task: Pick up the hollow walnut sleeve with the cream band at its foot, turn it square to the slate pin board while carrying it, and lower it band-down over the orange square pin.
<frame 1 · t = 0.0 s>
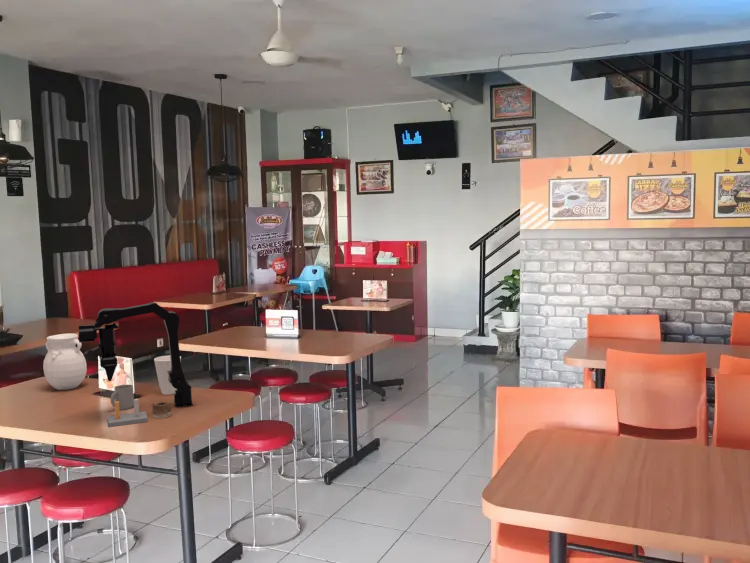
hand: (109, 378, 263), 15 cm above the table, fingers open, 9 cm apart
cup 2: (169, 393, 296), on the table
cup: (122, 408, 272), on the table
white handled vase: (66, 388, 310), on the table
sleeve: (162, 416, 260), on the table
pin board: (127, 420, 254), on the table
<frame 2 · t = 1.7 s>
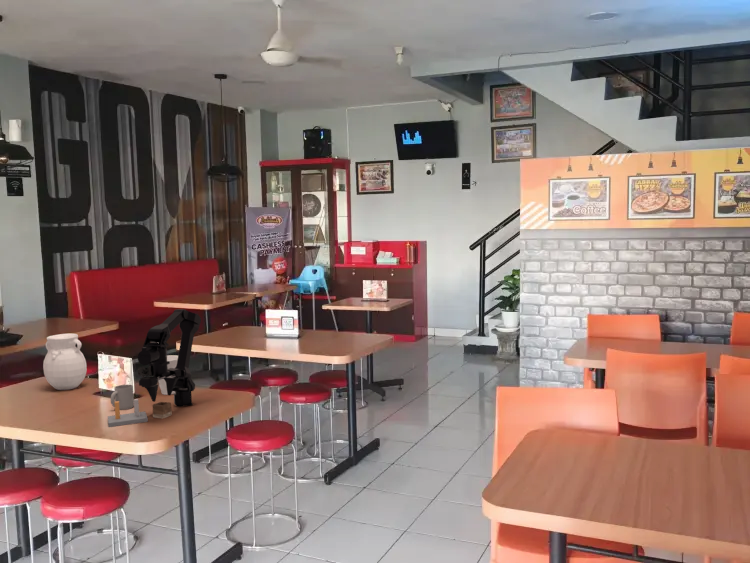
hand: (161, 398, 259), 7 cm above the table, fingers open, 9 cm apart
nothing on the table moved.
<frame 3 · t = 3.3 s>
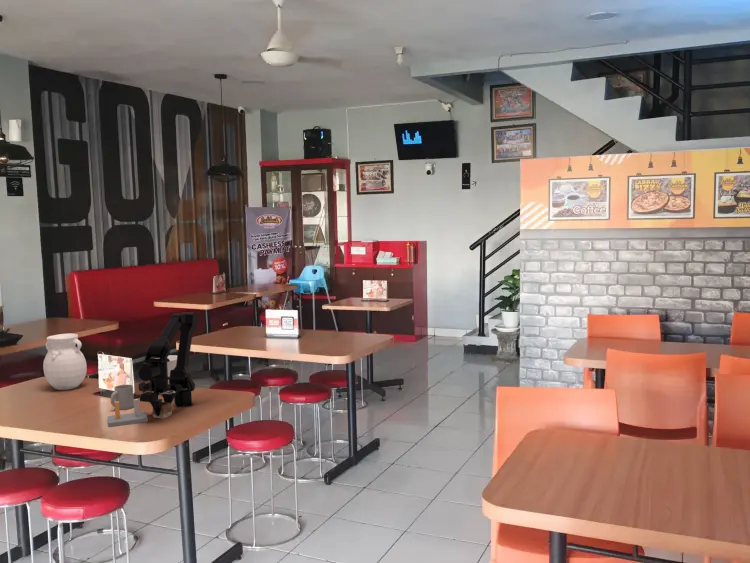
hand: (162, 413, 260), 1 cm above the table, fingers closed on sleeve, 5 cm apart
sleeve: (162, 416, 260), on the table, touching gripper
everything else where it was.
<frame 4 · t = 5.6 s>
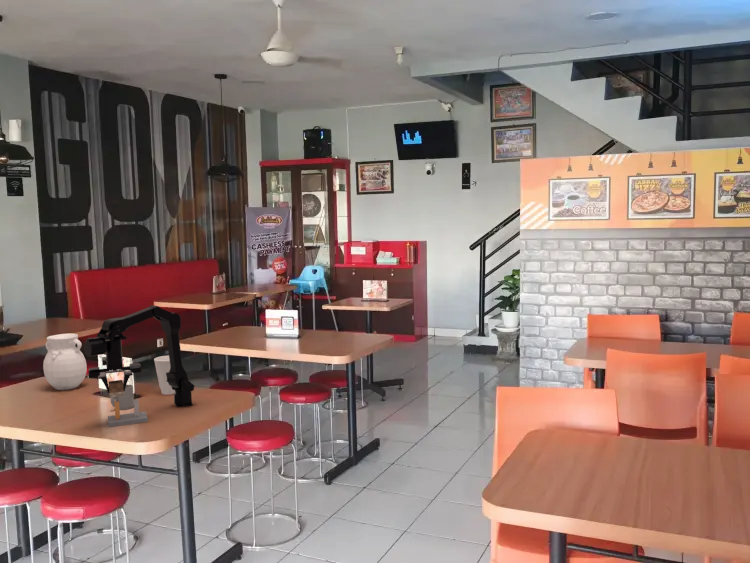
hand: (116, 392, 252), 12 cm above the table, fingers closed on sleeve, 5 cm apart
sleeve: (116, 394, 252), point 11 cm above the table, touching gripper
everything else where it was.
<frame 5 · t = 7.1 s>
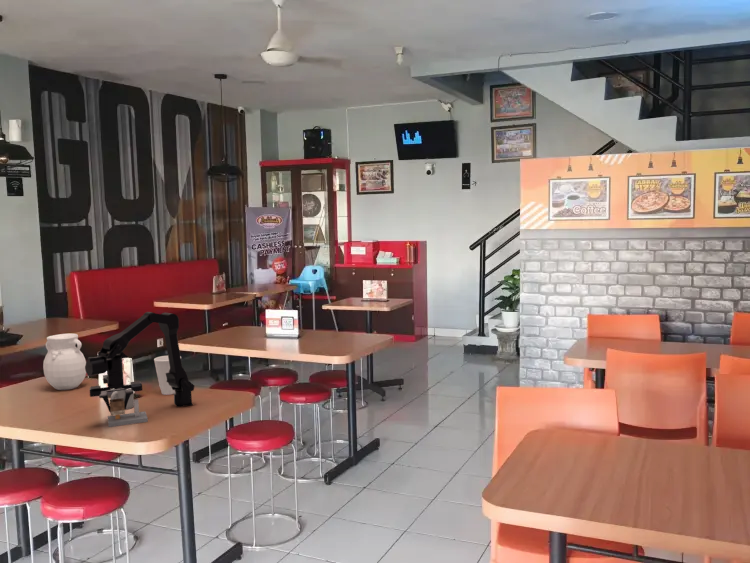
hand: (117, 410, 253), 5 cm above the table, fingers closed on sleeve, 5 cm apart
sleeve: (117, 413, 253), point 4 cm above the table, touching gripper
everything else where it was.
when the fingers open (4 cm above the table, at t = 8.1 s): sleeve drops 1 cm, resting on pin board.
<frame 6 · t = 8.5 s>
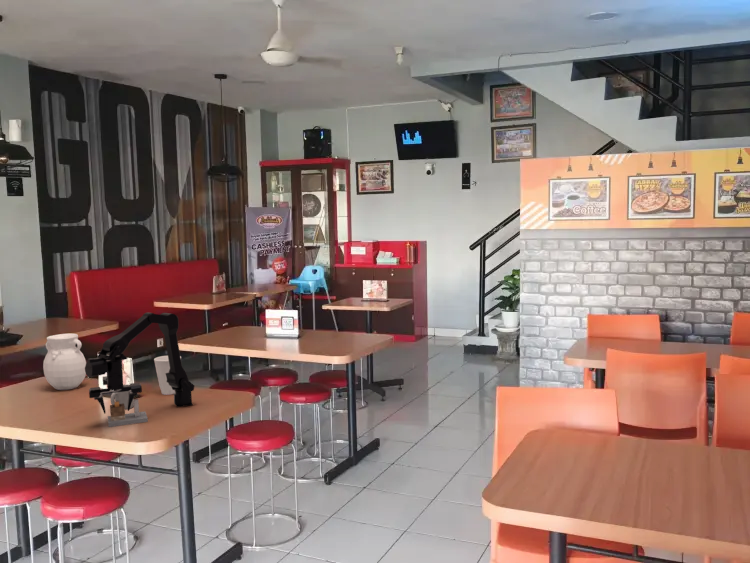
hand: (116, 412, 253), 4 cm above the table, fingers open, 8 cm apart
sleeve: (117, 418, 253), point 1 cm above the table, touching pin board
everything else where it was.
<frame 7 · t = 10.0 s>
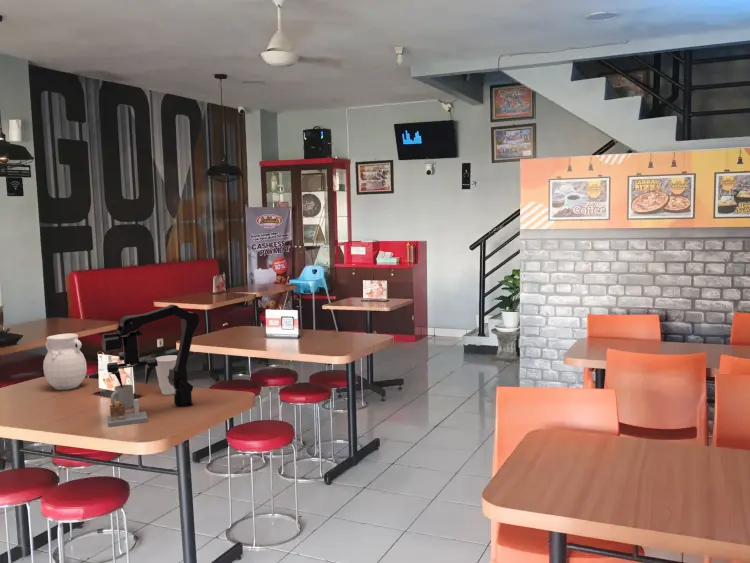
hand: (134, 385, 263), 12 cm above the table, fingers open, 9 cm apart
nothing on the table moved.
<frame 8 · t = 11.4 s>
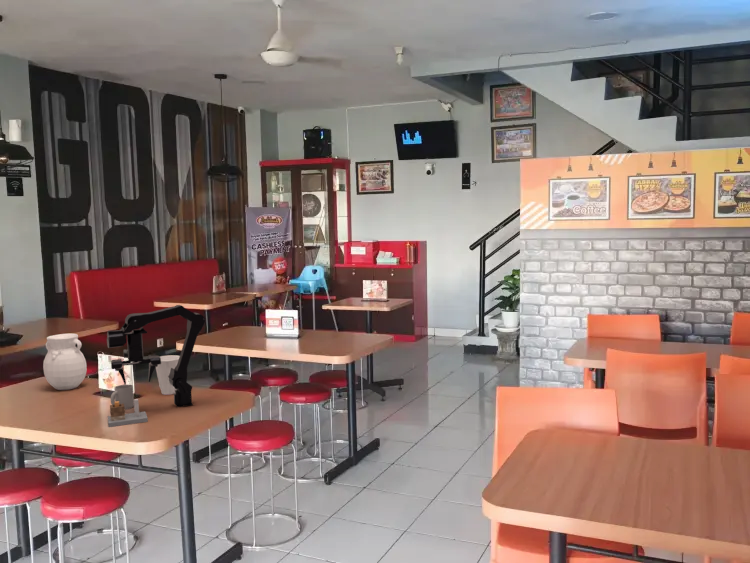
hand: (137, 383, 265), 12 cm above the table, fingers open, 9 cm apart
nothing on the table moved.
at the end: sleeve 0.1 cm from the target spot on the pin board, point 1.5 cm above the pin board's base; sleeve tilted 0°; the gripper is holding nothing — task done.
